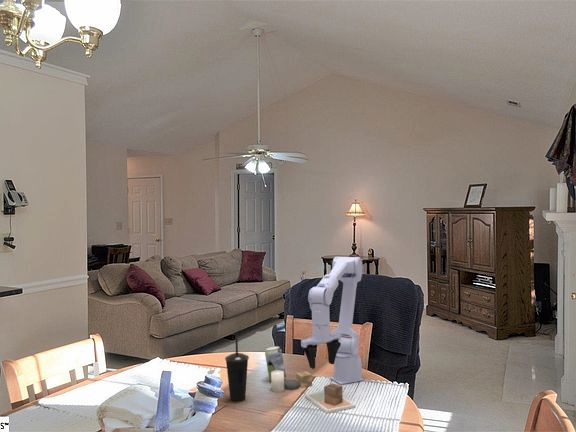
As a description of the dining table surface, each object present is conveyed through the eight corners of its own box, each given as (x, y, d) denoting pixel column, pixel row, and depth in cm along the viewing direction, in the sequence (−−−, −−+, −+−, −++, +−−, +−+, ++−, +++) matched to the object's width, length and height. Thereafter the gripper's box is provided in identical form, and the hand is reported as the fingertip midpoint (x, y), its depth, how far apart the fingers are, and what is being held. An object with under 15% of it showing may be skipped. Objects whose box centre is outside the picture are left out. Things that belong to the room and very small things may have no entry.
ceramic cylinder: (281, 386, 175) (280, 369, 175) (286, 390, 171) (286, 373, 171) (269, 388, 173) (269, 371, 173) (274, 392, 169) (274, 375, 169)
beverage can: (284, 384, 178) (283, 350, 178) (263, 383, 179) (262, 349, 179) (287, 378, 184) (286, 345, 184) (268, 377, 185) (267, 344, 185)
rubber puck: (296, 384, 177) (296, 379, 177) (300, 389, 172) (300, 384, 172) (282, 386, 176) (282, 380, 176) (285, 391, 171) (285, 385, 171)
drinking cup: (253, 396, 166) (252, 335, 166) (243, 404, 159) (242, 341, 159) (232, 394, 169) (230, 334, 169) (221, 402, 162) (220, 339, 162)
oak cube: (306, 382, 179) (306, 371, 179) (312, 386, 175) (311, 374, 175) (296, 384, 177) (296, 373, 177) (301, 388, 173) (301, 376, 173)
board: (331, 392, 169) (331, 389, 169) (355, 407, 155) (355, 404, 155) (304, 397, 164) (304, 394, 164) (326, 413, 151) (326, 410, 151)
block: (332, 398, 160) (332, 383, 160) (342, 402, 157) (342, 386, 157) (324, 402, 157) (324, 386, 157) (334, 405, 154) (334, 389, 154)
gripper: (331, 318, 171) (332, 358, 171) (295, 324, 163) (296, 366, 164) (344, 322, 165) (345, 363, 165) (307, 329, 157) (308, 372, 158)
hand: (322, 365), depth 164 cm, fingers open, 7 cm apart
